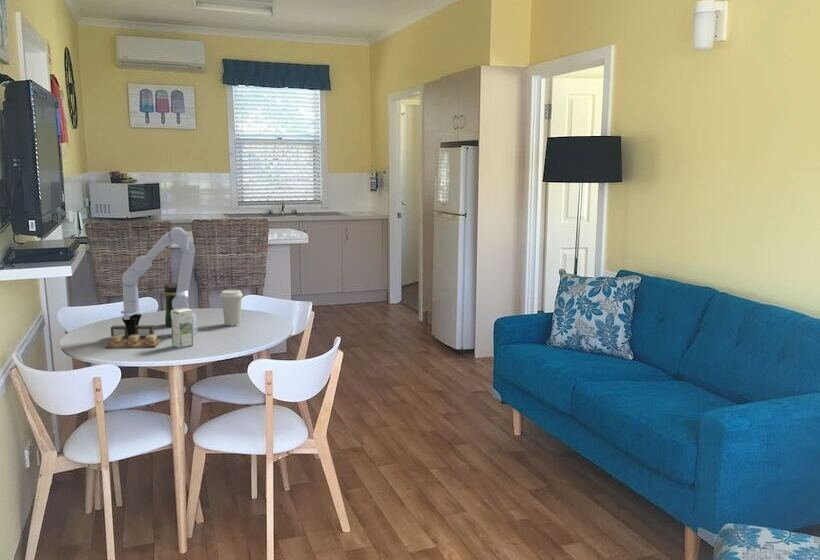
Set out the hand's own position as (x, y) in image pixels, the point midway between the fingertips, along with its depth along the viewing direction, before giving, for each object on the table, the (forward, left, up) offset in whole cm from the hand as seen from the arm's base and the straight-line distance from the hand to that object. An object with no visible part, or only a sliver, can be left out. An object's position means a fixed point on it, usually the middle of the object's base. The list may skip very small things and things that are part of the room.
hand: (132, 333), depth 277 cm
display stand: (-4, +12, -2) cm, 13 cm away
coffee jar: (-12, -23, -2) cm, 26 cm away
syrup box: (-23, +15, -2) cm, 28 cm away
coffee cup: (-36, -22, -2) cm, 42 cm away
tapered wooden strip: (0, 0, -2) cm, 2 cm away
